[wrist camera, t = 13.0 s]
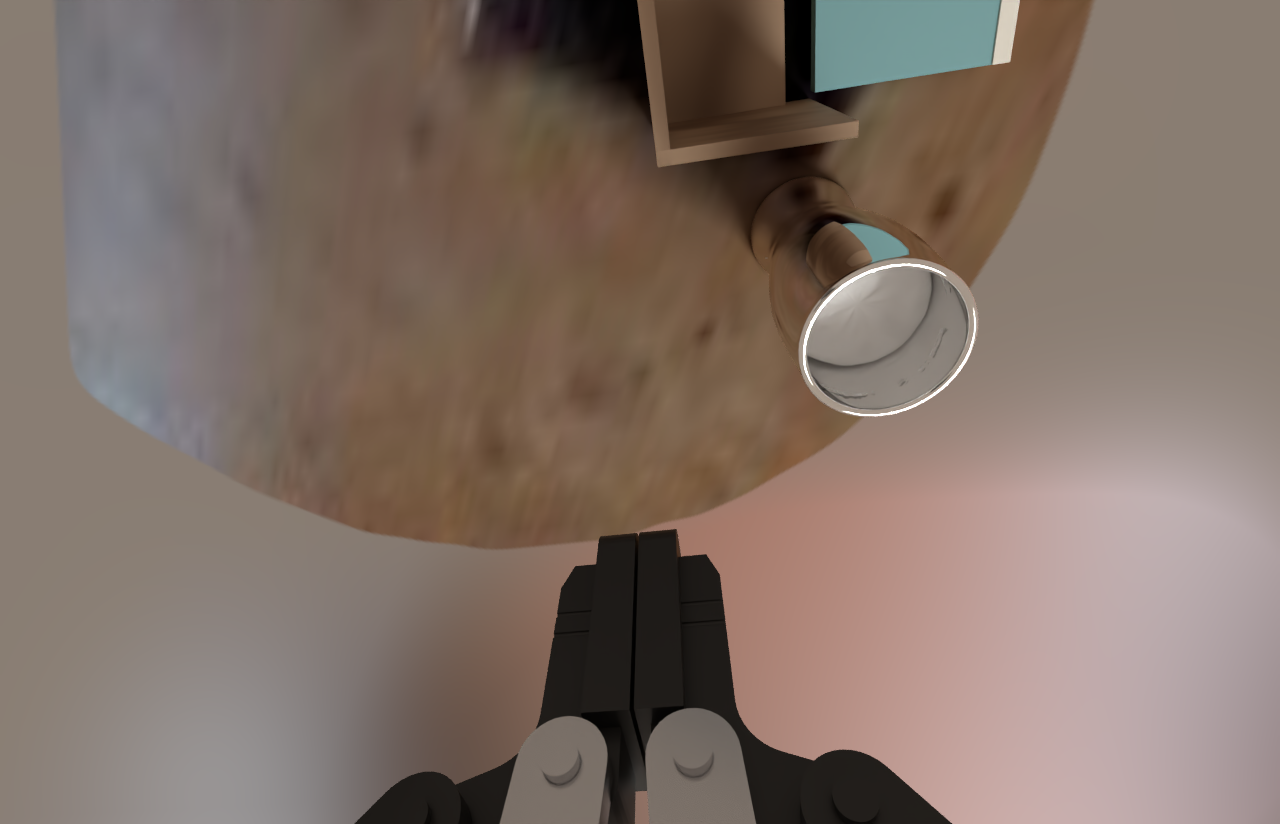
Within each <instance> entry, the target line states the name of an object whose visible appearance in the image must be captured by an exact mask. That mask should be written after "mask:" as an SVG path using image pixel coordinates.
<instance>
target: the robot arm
mask: <svg viewBox="0 0 1280 824" xmlns="http://www.w3.org/2000/svg"><path fill="white" fill-rule="evenodd" d="M557 614H558V617H557V618H556V624H555V630H554V638H553V642H552V648H551V654H550V660H549V666H548V672H547V679H546V684H545V690H544V697H543V703H542V709H541V715H540V719H539V722H538V725H537V727H536V730H535V731H534V732H532V734H531V735H530V736H529V737H528V738H527V739H526V741H525V742H524V744H523V745H522V747H521V749H520V751H519V753H518V754H517V755H515V756H514V757H513V758H512V759H511V760H509V761H508V762H506V763H504V764H503V765H501V766H499V767H497V768H495V769H492V770H490V771H488V772H485V773H483V774H480V775H478V776H476V777H473V778H471V779H468V780H466V781H464V782H462V783H459V784H456V785H455V784H454V783H453V782H452V780H451V779H449V778H448V777H447V776H445V775H443V774H441V773H437V772H422V773H417V774H414V775H411V776H409V777H407V778H405V779H403V780H401V781H400V782H398V783H397V784H395V785H394V786H393V787H391V788H390V789H389V790H388V791H387V792H386V793H385V794H384V795H383V796H382V797H381V798H380V799H379V800H378V801H377V802H376V803H375V804H374V805H373V806H372V807H371V808H370V809H369V810H368V811H367V812H366V813H365V814H364V815H363V816H362V817H361V818H360V819H359V820H358V821H357V822H356V823H355V824H635V791H647V793H648V810H649V824H952V823H950V822H949V821H948V820H947V819H946V818H945V817H944V816H943V815H941V814H940V813H939V812H938V811H937V810H936V809H935V808H934V807H932V806H931V805H930V804H929V803H928V802H927V801H925V800H924V799H923V798H922V797H921V796H920V795H919V794H918V793H916V792H915V791H914V790H913V789H912V788H911V787H910V786H908V785H907V784H906V783H905V782H904V781H903V780H902V779H900V778H899V777H898V776H897V775H896V774H895V773H894V772H892V771H891V770H890V769H889V768H888V767H886V766H885V765H884V764H883V763H881V762H880V761H878V760H877V759H875V758H873V757H871V756H869V755H867V754H864V753H862V752H858V751H853V750H836V751H831V752H828V753H825V754H823V755H821V756H820V757H818V758H817V759H816V760H814V761H813V760H810V759H806V758H803V757H799V756H796V755H792V754H788V753H785V752H782V751H779V750H776V749H774V748H772V747H769V746H768V745H766V744H764V743H763V742H761V741H760V740H759V739H757V738H756V737H755V736H754V735H753V734H752V733H751V732H750V731H749V730H748V729H747V727H746V726H745V725H744V723H743V721H742V720H741V718H740V716H739V713H738V710H737V708H736V703H735V696H734V688H733V680H732V672H731V664H730V655H729V648H728V639H727V631H726V623H725V615H724V606H723V598H722V590H721V582H720V574H719V573H718V571H717V570H716V568H715V567H714V565H713V564H712V562H711V561H710V560H709V558H708V557H707V555H706V554H705V555H694V556H683V557H681V553H680V546H679V540H678V534H677V530H676V529H673V530H662V531H652V532H641V533H639V536H638V534H637V533H632V534H622V535H611V536H601V537H600V539H599V543H598V553H597V562H596V564H595V565H584V566H575V568H574V569H573V571H572V572H571V574H570V575H569V577H568V579H567V580H566V582H565V583H564V585H563V586H562V588H561V593H560V599H559V605H558V612H557Z"/></svg>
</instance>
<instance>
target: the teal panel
mask: <svg viewBox="0 0 1280 824" xmlns="http://www.w3.org/2000/svg"><path fill="white" fill-rule="evenodd" d="M1019 2H1020V0H811V91H813V92H821V91H827V90H834V89H840V88H846V87H853V86H859V85H865V84H872V83H878V82H884V81H891V80H897V79H903V78H910V77H916V76H922V75H929V74H935V73H942V72H948V71H954V70H961V69H967V68H973V67H980V66H986V65H994V64H1000V63H1007V62H1010V59H1011V52H1012V46H1013V40H1014V33H1015V27H1016V21H1017V15H1018V8H1019Z"/></svg>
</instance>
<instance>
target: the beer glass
mask: <svg viewBox="0 0 1280 824" xmlns="http://www.w3.org/2000/svg"><path fill="white" fill-rule="evenodd" d="M751 245H752V249H753V252H754V255H755V257H756V259H757V261H758V262H759V264H760V265H761V267H762V268H763V269H764V270H765V271H766V272H767V273H768V274H769V297H770V305H771V312H772V316H773V319H774V322H775V325H776V328H777V331H778V334H779V336H780V338H781V340H782V342H783V344H784V346H785V348H786V350H787V352H788V354H789V356H790V357H791V359H792V361H793V362H794V364H795V366H796V367H797V369H798V370H799V372H800V373H801V375H802V377H803V379H804V382H805V383H806V385H807V387H808V388H809V390H810V391H811V392H812V393H813V394H814V396H815V397H816V398H818V399H819V400H820V401H821V402H822V403H824V404H825V405H827V406H828V407H830V408H832V409H834V410H836V411H839V412H842V413H845V414H848V415H853V416H860V417H880V416H887V415H892V414H897V413H900V412H904V411H906V410H909V409H912V408H914V407H916V406H918V405H920V404H922V403H924V402H926V401H927V400H929V399H931V398H932V397H934V396H935V395H937V394H938V393H939V392H941V391H942V390H943V389H944V388H945V387H947V386H948V384H950V383H951V382H952V381H953V380H954V379H955V377H956V376H957V375H958V374H959V372H960V371H961V370H962V368H963V367H964V365H965V364H966V362H967V361H968V359H969V357H970V355H971V353H972V350H973V348H974V345H975V342H976V338H977V333H978V310H977V306H976V302H975V299H974V297H973V295H972V293H971V291H970V289H969V288H968V286H967V285H966V283H965V282H964V281H963V280H962V279H961V278H960V277H959V276H958V275H957V274H956V273H954V272H953V271H952V270H951V268H950V267H949V266H948V265H947V264H946V263H945V261H944V260H943V259H942V258H941V257H940V256H939V255H938V254H937V253H936V252H935V251H934V250H933V249H932V248H931V247H930V246H929V245H928V244H927V243H926V242H925V241H924V240H923V239H921V238H920V237H919V236H918V235H917V234H915V233H914V232H912V231H911V230H909V229H908V228H906V227H905V226H903V225H902V224H900V223H899V222H897V221H895V220H893V219H891V218H889V217H886V216H883V215H881V214H878V213H876V212H873V211H869V210H865V209H861V208H857V207H855V206H854V203H853V201H852V200H851V198H850V196H849V195H848V194H847V192H846V191H845V190H844V189H843V188H842V187H841V186H839V185H838V184H836V183H835V182H833V181H831V180H828V179H825V178H820V177H802V178H797V179H794V180H791V181H789V182H786V183H784V184H782V185H781V186H779V187H778V188H776V189H775V190H774V191H773V192H771V193H770V194H769V195H768V196H767V197H766V199H765V200H764V201H763V202H762V204H761V205H760V207H759V209H758V210H757V212H756V215H755V217H754V220H753V224H752V229H751Z"/></svg>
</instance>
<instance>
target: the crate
mask: <svg viewBox="0 0 1280 824" xmlns="http://www.w3.org/2000/svg"><path fill="white" fill-rule="evenodd" d="M637 2H638V10H639V19H640V27H641V35H642V43H643V51H644V59H645V68H646V76H647V84H648V92H649V100H650V108H651V117H652V125H653V133H654V141H655V149H656V158H657V166H658V167H663V166H670V165H677V164H683V163H690V162H696V161H703V160H710V159H716V158H723V157H730V156H736V155H743V154H750V153H756V152H763V151H769V150H776V149H783V148H789V147H796V146H803V145H809V144H816V143H822V142H829V141H836V140H842V139H849V138H856V137H858V127H859V121H858V120H856V119H854V118H851V117H849V116H847V115H845V114H843V113H840V112H838V111H836V110H834V109H831V108H829V107H827V106H825V105H822V104H820V103H818V102H816V101H813V100H811V99H803V100H797V101H790V102H785V35H784V0H637Z"/></svg>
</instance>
